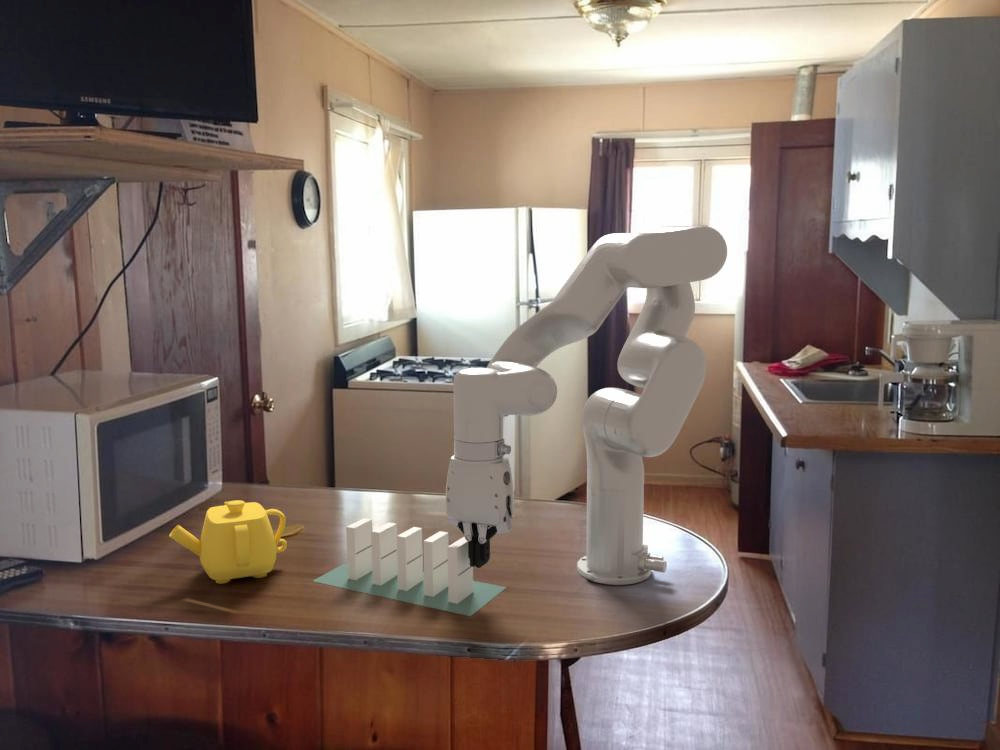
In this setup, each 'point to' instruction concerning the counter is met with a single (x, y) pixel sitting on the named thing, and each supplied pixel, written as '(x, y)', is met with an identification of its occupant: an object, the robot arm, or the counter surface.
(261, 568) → the teapot
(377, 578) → the domino
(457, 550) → the domino
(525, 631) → the counter surface
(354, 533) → the domino
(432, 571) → the domino
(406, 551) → the domino
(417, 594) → the runner mat
